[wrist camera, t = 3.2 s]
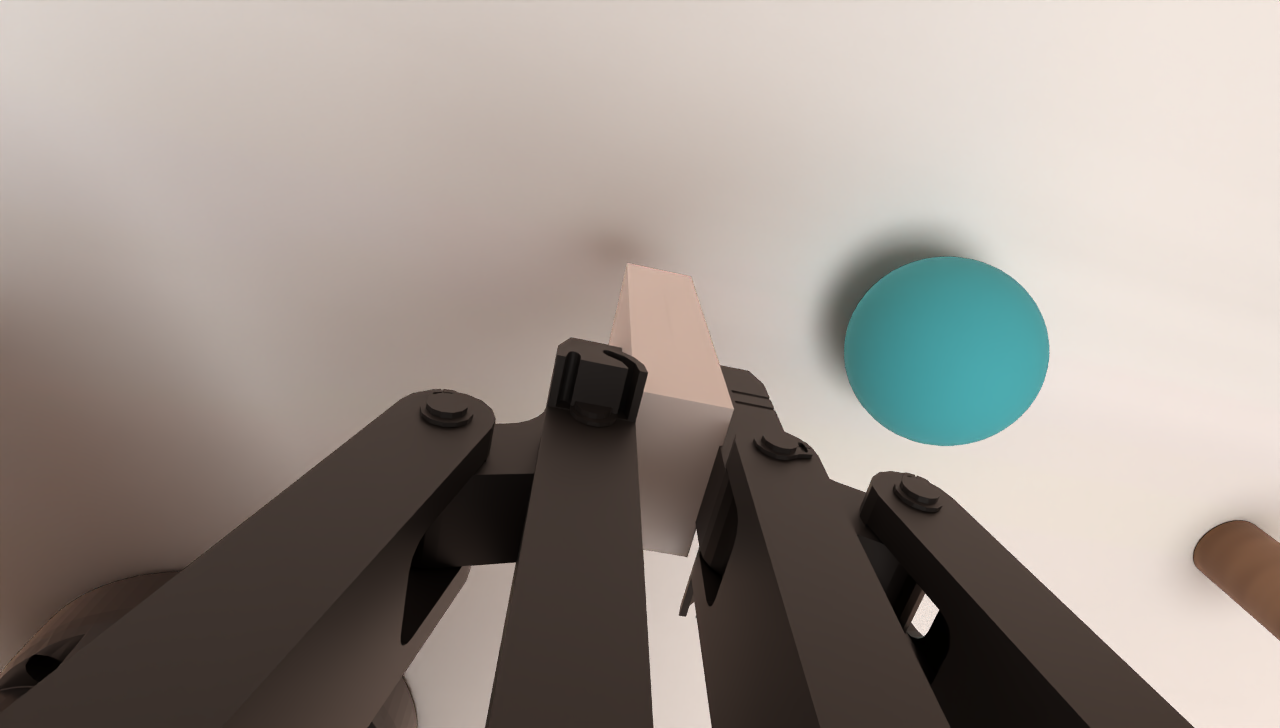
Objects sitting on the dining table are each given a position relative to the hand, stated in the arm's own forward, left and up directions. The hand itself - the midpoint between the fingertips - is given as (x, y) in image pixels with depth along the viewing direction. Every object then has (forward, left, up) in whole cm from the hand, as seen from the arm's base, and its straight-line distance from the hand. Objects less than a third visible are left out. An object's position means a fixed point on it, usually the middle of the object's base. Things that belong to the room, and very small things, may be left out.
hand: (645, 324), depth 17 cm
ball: (0, -9, -3) cm, 10 cm away
